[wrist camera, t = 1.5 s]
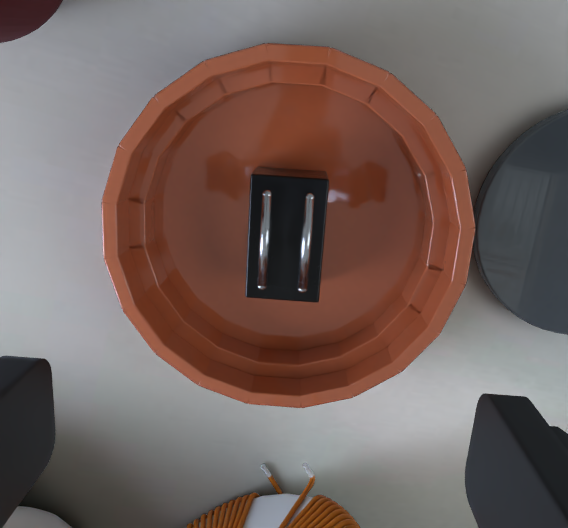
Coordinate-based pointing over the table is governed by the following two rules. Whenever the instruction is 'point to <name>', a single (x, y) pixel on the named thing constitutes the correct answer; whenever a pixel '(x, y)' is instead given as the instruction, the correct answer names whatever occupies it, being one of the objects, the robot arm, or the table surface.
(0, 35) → the mug
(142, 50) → the table surface
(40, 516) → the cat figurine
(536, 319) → the plate
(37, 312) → the table surface
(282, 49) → the bowl
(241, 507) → the coil
